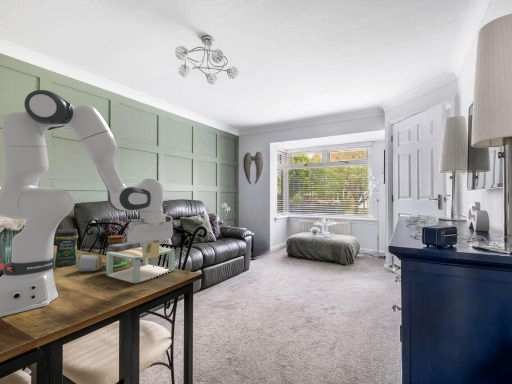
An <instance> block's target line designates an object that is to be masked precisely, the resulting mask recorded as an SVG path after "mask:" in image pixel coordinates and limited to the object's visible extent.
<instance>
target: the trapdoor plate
mask: <svg viewBox="0 0 512 384" xmlns="http://www.w3.org/2000/svg"><path fill="white" fill-rule="evenodd" d="M107 247H108V252H116V253H121V254H126V255H132V256H142V255H143V253H142V247H141V246H140V243H135V244H131V243H128V242H123V243H119V244H108V245H107ZM164 250H165V249H159V252H160V251H164ZM113 257H114V258H116V256H113Z"/></svg>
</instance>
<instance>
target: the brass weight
mask: <svg viewBox="0 0 512 384" xmlns="http://www.w3.org/2000/svg"><path fill="white" fill-rule="evenodd" d="M145 246H146V248H148V253H143V257H144V258H149V259H150V260H151V259H155V258H156V259H157V258H159V257H160V255H159V247H160V246H159V242H156V241H149V242H146V245H145Z"/></svg>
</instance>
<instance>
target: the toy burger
mask: <svg viewBox="0 0 512 384" xmlns="http://www.w3.org/2000/svg"><path fill="white" fill-rule="evenodd" d="M124 240H125V237H124V235H121V234H120V235H119V234H118V235H117V234H115V235H109V236H107V244H108V245H114V244H120V243H125V241H124ZM106 252H108V246H107V247H106V248H105V250H104V253H106ZM129 260H130V259H126V258H121V257H116V258H114V257H113V269H114V268H120V267H124V266H127V265H128V261H129ZM103 267H105V268H106V263H104V264H103Z"/></svg>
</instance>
